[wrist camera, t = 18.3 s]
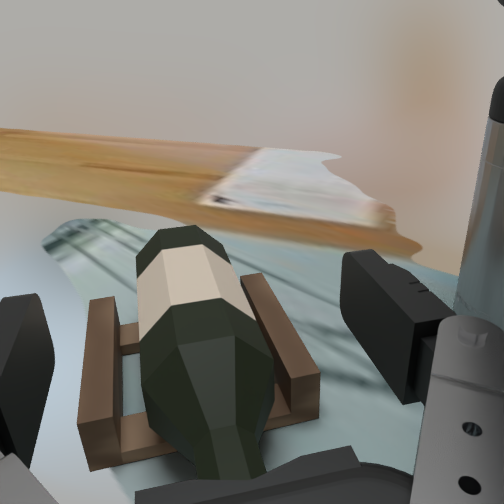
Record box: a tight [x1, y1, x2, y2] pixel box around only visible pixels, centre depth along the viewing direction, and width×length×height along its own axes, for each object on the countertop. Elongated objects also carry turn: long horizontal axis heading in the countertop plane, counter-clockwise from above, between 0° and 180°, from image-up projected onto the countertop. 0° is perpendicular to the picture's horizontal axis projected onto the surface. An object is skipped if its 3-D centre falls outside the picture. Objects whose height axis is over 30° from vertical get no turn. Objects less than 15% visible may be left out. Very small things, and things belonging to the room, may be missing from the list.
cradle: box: [77, 273, 320, 472], centre depth 35 cm, size 15×14×4 cm
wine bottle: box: [136, 225, 275, 480], centre depth 29 cm, size 8×8×30 cm
